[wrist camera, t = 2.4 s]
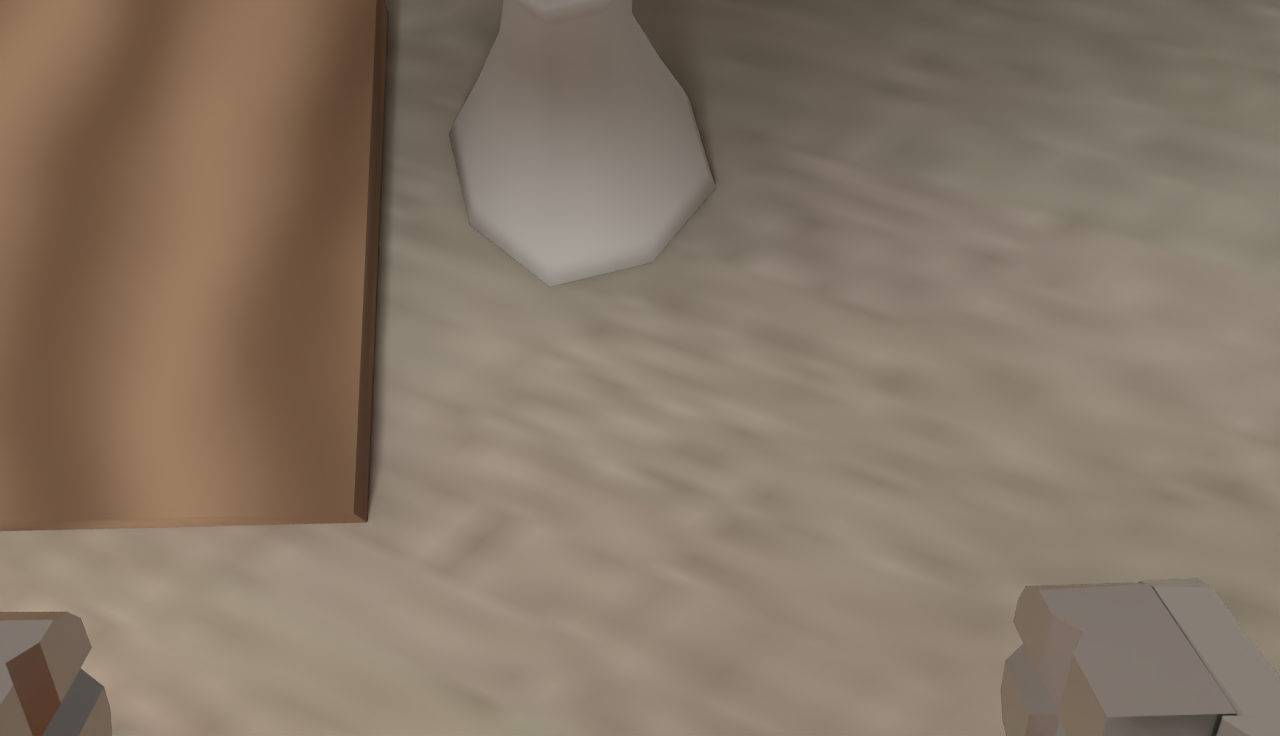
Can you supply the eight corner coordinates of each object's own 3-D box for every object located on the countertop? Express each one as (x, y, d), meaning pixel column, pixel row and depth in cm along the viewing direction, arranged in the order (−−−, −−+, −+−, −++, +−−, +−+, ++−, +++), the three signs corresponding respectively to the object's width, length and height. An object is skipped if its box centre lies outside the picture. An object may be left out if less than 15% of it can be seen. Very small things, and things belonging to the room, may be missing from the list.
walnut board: (388, 12, 33) (377, -19, 32) (367, 522, 29) (353, 513, 28) (-95, 19, 33) (-128, -12, 31) (-186, 535, 29) (-229, 527, 27)
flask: (406, 129, 32) (314, -111, 23) (621, 11, 33) (619, -265, 24) (539, 333, 31) (499, 169, 21) (759, 201, 32) (818, -13, 22)
